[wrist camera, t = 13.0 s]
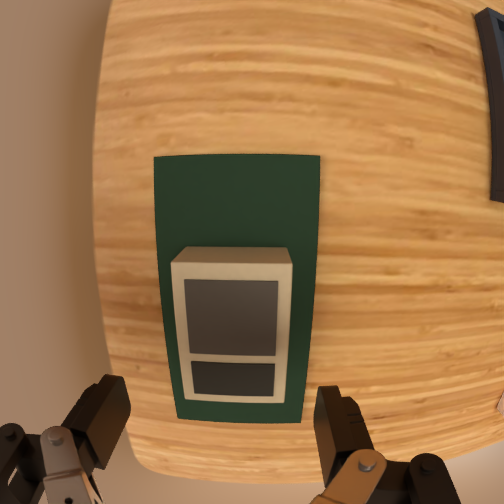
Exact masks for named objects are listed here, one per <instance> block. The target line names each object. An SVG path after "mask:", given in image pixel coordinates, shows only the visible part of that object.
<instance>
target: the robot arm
mask: <svg viewBox="0 0 504 504" xmlns="http://www.w3.org/2000/svg"><path fill="white" fill-rule="evenodd" d="M130 412H131V404H130V400H129V396H128V393H127V389H126V385H125V381H124V378H123V377H121V376H115V375H109V374H105V375H104V376H103V377H102V379H101V380H100V382H99V383H98V384H95V383H94V384H93V385H91V386H90V387H88V388H87V389H86V390H85V391H84V392H83V394H82V395H81V397H80V399H78V401H77V403H76V405H74V407H73V408H72V410H71V411H70V413H69V414H68V415H67V417H66V419H65V420H64V421H63V423H62V424H61V426H53V427H50V428H48V429H46V430H45V431H44V432H43V433H42V435H35V434H25V432H24V430H23V428H22V427H21V426H20V425H18V424H15V423H8V424H5V425H3V426H1V427H0V504H38V502H39V500H40V498H41V496H42V494H43V492H44V490H45V491H46V495H47V500H48V503H49V504H105V502H104V500H103V498H102V495H101V493H100V490H99V488H98V485H97V483H96V480H95V478H94V475H93V473H92V472H93V470H94V468H99V469H102V470H104V469H105V468H106V465H107V463H108V461H109V459H110V456H111V455H112V452H113V450H114V448H115V446H116V444H117V442H118V439H119V437H120V435H121V433H122V431H123V429H124V427H125V425H126V423H127V420H128V418H129V416H130ZM314 430H315V435H316V441H317V446H318V452H319V457H320V463H321V468H322V474H323V480H324V485H325V488H326V489H325V490H324V492H323V493H322V494H321V495H320V494H319V495H317V496H316V497H315V498H314V499H313V500H312V501H311V503H310V504H461V502H460V499H459V497H458V494H457V492H456V489H455V487H454V485H453V482H452V480H451V477H450V475H449V473H448V470H447V468H446V466H445V463H444V462H443V460H442V459H441V458H440V457H438V456H437V455H434V454H430V453H423V454H419V455H417V456H415V457H414V458H413V459H412V460H411V462H396V461H390V460H387V459H385V457H384V456H383V455H382V454H381V453H379V452H378V451H375V449H374V447H373V444H372V441H371V438H370V436H369V433H368V430H367V427H366V425H365V422H364V419H363V417H362V415H361V411H360V408H359V406H358V404H357V403H356V402H355V401H354V400H353V399H352V398H351V397H341V394H340V391H339V388H338V386H337V385H335V386H319V387H318V391H317V397H316V404H315V410H314ZM15 467H16V469H17V472H16V473H15V475H14V477H13V478H12V480H11V482H10V484H9V486H8V480H9V478H10V476H11V474H12V473H13V471H14V469H15Z"/></svg>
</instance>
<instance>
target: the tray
mask: <svg viewBox="0 0 504 504" xmlns="http://www.w3.org/2000/svg"><path fill="white" fill-rule="evenodd" d="M475 19H476V23H477V27H478V32H479V36H480V41H481V46H482V51H483V57H484V63H485V69H486V76H487V84H488V92H489V102H490V114H491V131H492V184H491V200H492V201H497V202H502V203H504V15H502V14H500V13H498V12H496V11H494V10H492V9H490V8H488V7H487V8H485V9H484V10H482V11H480V12H479V13H477V14H476V15H475Z"/></svg>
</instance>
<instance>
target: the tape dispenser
mask: <svg viewBox="0 0 504 504" xmlns="http://www.w3.org/2000/svg"><path fill="white" fill-rule="evenodd" d="M497 409H498V411H499V412H500V413H501V414H502V416H503V417H504V392H503V395H502V397H501V399H500V401H499V403H498V406H497Z"/></svg>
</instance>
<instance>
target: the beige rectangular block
mask: <svg viewBox="0 0 504 504" xmlns="http://www.w3.org/2000/svg"><path fill="white" fill-rule="evenodd" d="M292 269H293V264H292V261H291V258H290V256H289V253H288V250H287V248H286V247H192V246H187V247H185V248H184V249H183V250H182V251H181V252H180V253H179V254H178V255H177V257H176V258H175V259H174V260H173V261H172V262H171V274H172V287H173V300H174V311H175V321H176V331H177V340H178V349H179V358H180V366H181V373H182V381H183V388H184V395H185V399H190V400H203V401H219V402H243V403H284V399H285V387H286V374H287V360H288V345H289V328H290V311H291V291H292Z"/></svg>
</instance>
